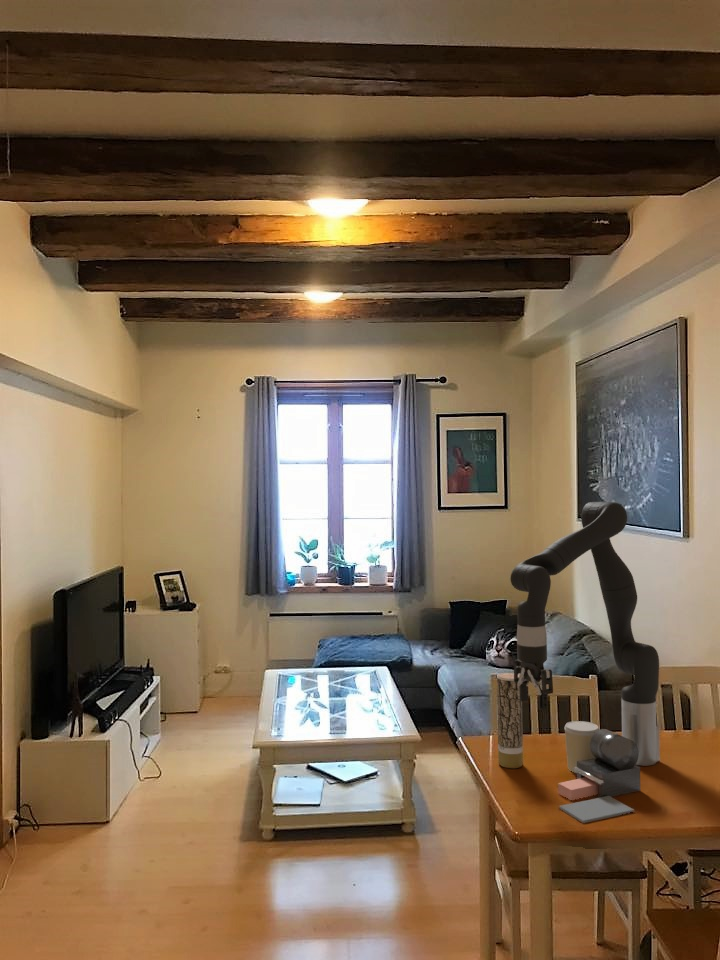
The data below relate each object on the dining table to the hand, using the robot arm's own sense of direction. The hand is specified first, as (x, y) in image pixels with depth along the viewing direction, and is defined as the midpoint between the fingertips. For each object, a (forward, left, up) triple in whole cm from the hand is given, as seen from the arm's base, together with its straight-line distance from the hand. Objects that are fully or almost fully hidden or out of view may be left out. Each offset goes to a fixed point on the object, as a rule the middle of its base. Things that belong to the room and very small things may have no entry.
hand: (533, 704), depth 200 cm
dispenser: (-18, +7, -22) cm, 29 cm away
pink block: (-11, +7, -22) cm, 26 cm away
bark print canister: (-4, -17, -22) cm, 28 cm away
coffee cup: (-20, -6, -22) cm, 30 cm away
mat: (-6, +17, -22) cm, 28 cm away
